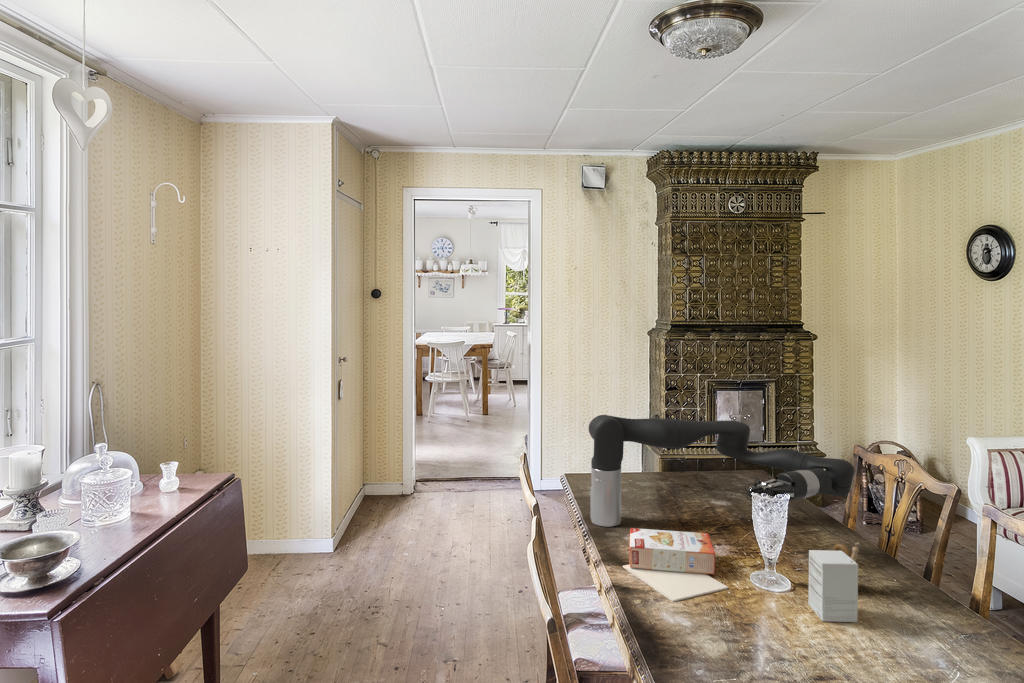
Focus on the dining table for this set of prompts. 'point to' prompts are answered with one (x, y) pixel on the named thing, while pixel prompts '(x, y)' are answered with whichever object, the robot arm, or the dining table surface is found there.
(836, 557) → the supplement box
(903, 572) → the dining table surface
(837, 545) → the snail figurine
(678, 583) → the cream placemat
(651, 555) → the cracker box
